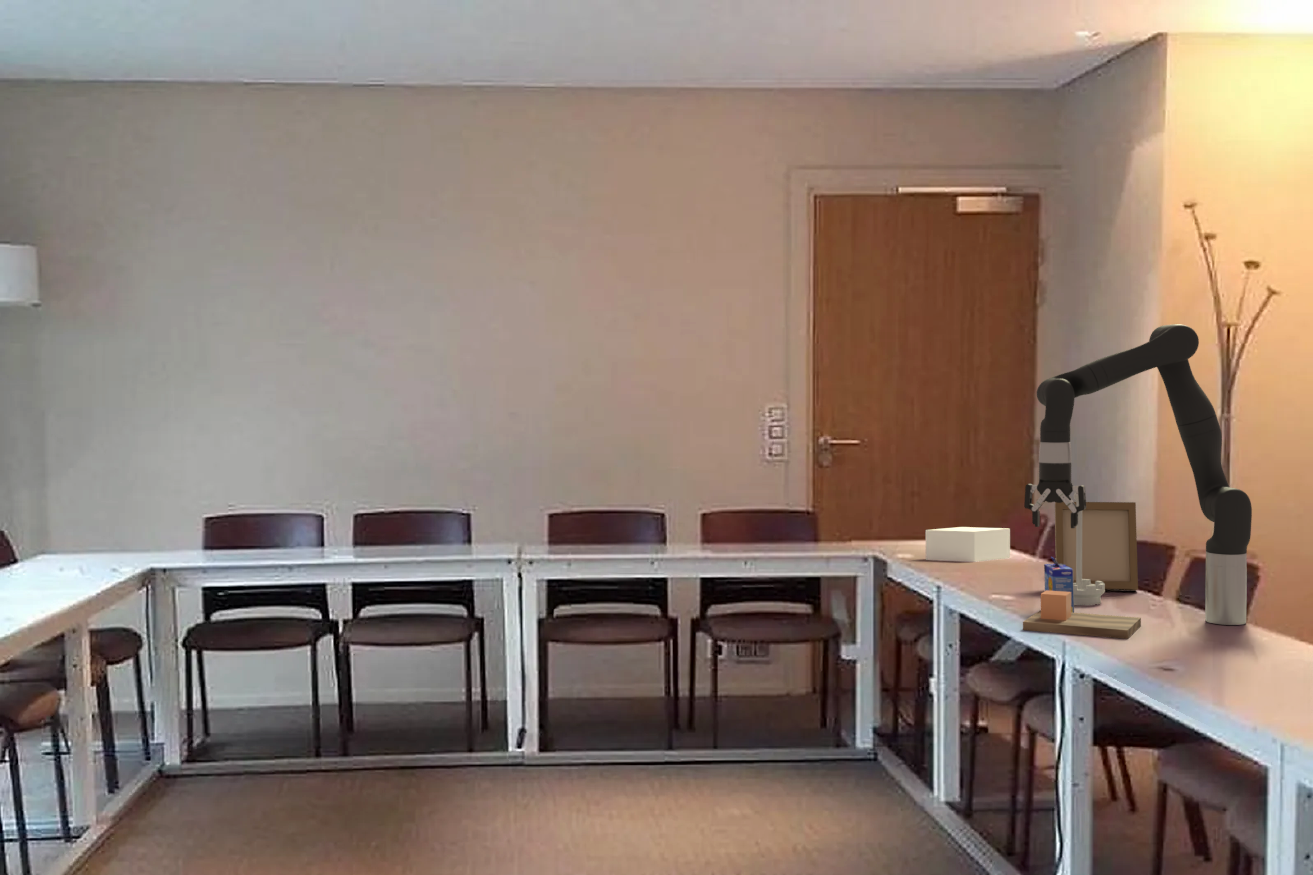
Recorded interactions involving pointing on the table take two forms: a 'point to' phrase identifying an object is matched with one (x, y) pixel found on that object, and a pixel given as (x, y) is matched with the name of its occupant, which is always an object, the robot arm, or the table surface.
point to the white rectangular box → (968, 544)
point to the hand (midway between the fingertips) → (1055, 527)
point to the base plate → (1085, 625)
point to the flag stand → (1083, 587)
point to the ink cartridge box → (1059, 579)
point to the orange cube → (1055, 605)
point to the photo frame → (1100, 543)
